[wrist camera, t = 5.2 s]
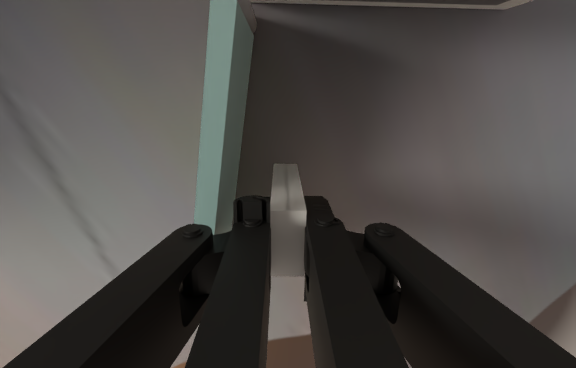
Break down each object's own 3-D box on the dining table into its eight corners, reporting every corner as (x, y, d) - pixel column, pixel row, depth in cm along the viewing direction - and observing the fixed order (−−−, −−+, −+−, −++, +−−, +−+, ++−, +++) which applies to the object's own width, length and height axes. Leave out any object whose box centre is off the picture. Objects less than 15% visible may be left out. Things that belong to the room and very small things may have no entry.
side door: (221, 8, 16) (178, -51, 9) (258, 15, 16) (243, -38, 9) (203, 224, 20) (163, 304, 13) (233, 228, 20) (209, 309, 13)
